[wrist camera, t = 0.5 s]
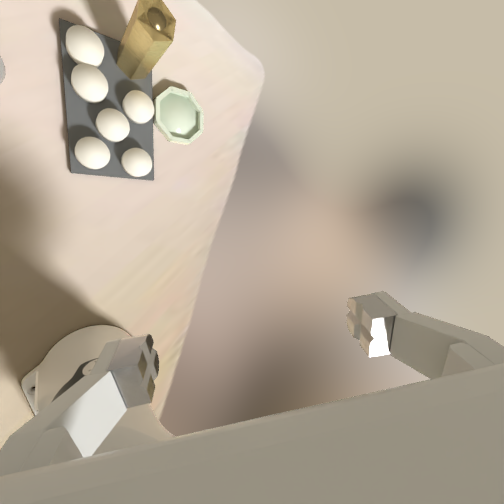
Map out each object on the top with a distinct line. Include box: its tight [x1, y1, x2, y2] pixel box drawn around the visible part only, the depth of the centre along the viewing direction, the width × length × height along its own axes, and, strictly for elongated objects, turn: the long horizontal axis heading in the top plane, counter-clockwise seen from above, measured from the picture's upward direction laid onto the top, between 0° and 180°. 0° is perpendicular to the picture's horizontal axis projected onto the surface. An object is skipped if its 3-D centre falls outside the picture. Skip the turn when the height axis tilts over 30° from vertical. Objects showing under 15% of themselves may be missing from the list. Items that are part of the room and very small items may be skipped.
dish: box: [153, 86, 204, 145], centre depth 46 cm, size 9×9×2 cm
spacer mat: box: [59, 18, 154, 181], centre depth 39 cm, size 20×12×3 cm, turn 175°
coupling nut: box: [116, 0, 176, 80], centre depth 35 cm, size 4×5×13 cm
